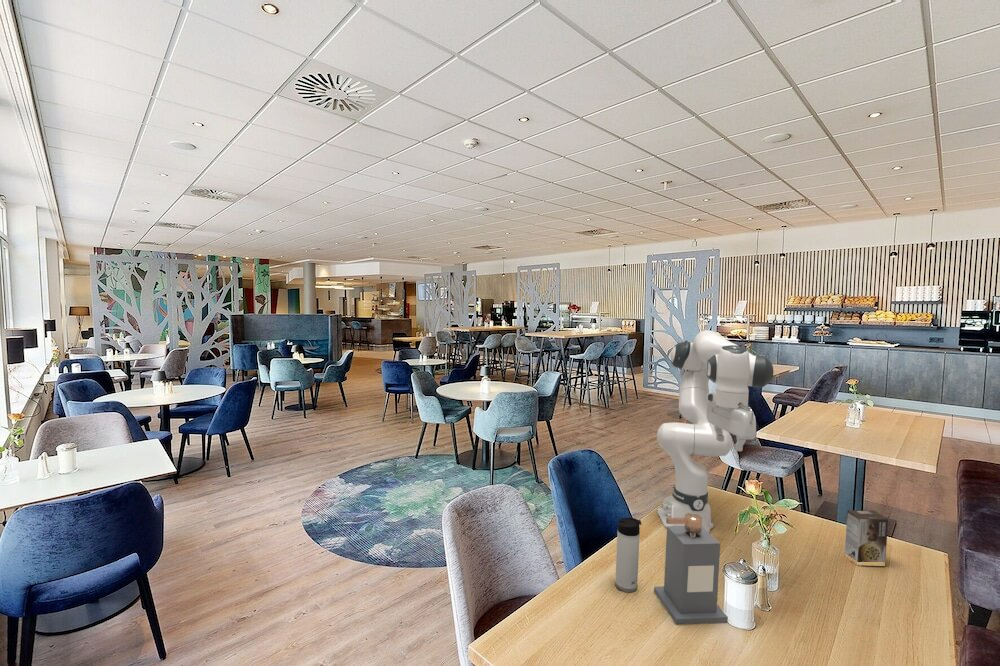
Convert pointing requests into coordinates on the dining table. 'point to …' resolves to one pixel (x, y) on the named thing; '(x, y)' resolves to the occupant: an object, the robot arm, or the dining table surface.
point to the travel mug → (627, 554)
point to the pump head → (688, 523)
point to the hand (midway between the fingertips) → (728, 445)
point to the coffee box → (866, 536)
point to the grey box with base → (691, 578)
